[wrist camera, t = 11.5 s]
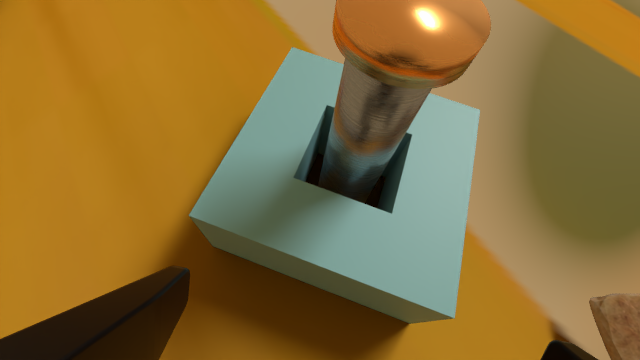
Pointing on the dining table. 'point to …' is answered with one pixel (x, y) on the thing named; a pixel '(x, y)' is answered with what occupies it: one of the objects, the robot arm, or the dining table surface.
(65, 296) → the dining table surface
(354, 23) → the pin
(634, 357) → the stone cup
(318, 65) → the block
